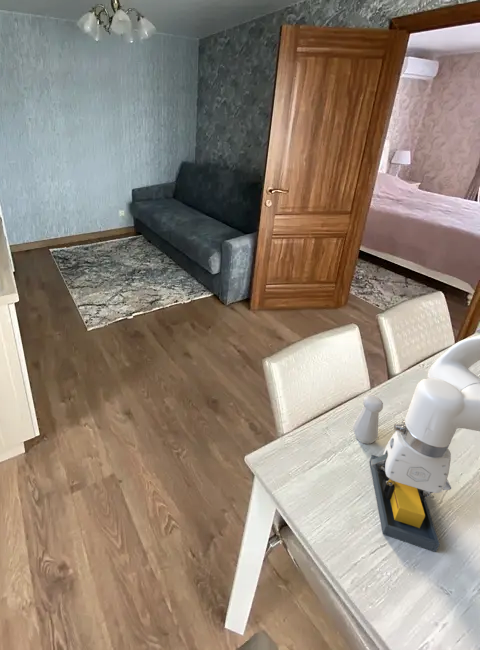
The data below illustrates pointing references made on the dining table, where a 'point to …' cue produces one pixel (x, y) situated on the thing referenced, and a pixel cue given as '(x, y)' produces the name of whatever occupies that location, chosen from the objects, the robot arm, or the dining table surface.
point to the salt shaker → (368, 420)
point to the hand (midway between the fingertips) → (400, 496)
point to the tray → (397, 529)
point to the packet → (407, 505)
